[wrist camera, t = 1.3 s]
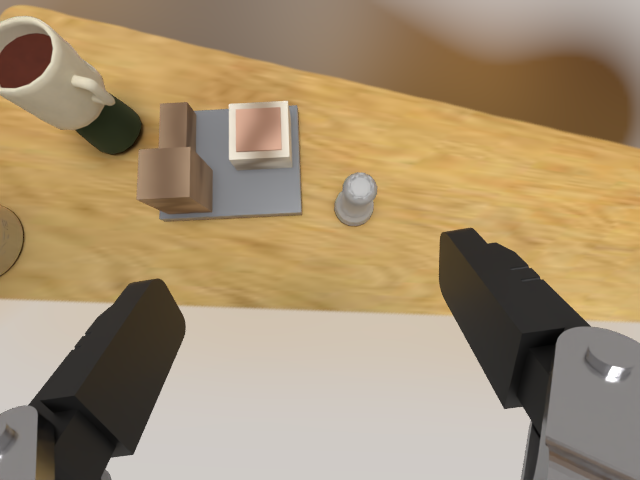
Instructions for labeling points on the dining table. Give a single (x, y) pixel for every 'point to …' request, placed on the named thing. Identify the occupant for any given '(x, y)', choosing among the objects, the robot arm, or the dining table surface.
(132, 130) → the character mug
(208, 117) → the baseplate
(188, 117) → the walnut castle blocks
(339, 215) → the rook chess piece
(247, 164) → the white square block
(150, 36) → the dining table surface
